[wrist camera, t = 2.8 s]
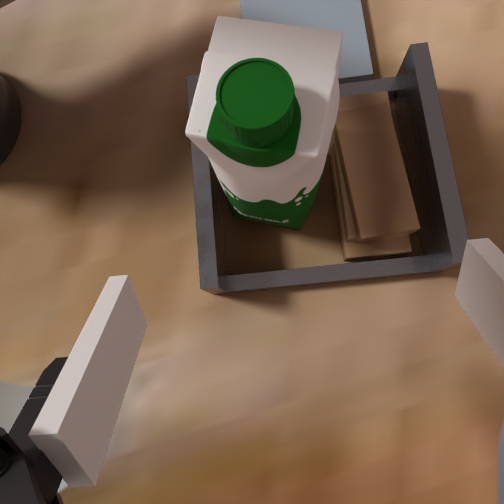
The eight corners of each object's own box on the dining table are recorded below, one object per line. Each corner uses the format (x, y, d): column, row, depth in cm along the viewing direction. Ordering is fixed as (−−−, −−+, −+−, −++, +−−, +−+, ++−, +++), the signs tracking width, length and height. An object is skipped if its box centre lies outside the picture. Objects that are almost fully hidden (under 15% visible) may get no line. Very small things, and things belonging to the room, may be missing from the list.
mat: (249, 96, 41) (248, 90, 40) (239, -6, 44) (238, -13, 43) (371, 79, 40) (373, 73, 39) (353, -23, 43) (355, -31, 42)
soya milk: (222, 224, 39) (159, 121, 19) (242, 142, 40) (202, -30, 21) (307, 241, 38) (333, 150, 18) (324, 157, 39) (365, -11, 19)
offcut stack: (343, 260, 37) (352, 251, 32) (322, 112, 40) (327, 83, 35) (406, 254, 36) (424, 244, 32) (380, 104, 40) (393, 75, 35)
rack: (213, 294, 37) (200, 288, 31) (200, 110, 41) (186, 75, 35) (442, 271, 36) (473, 261, 30) (406, 83, 40) (427, 42, 34)
